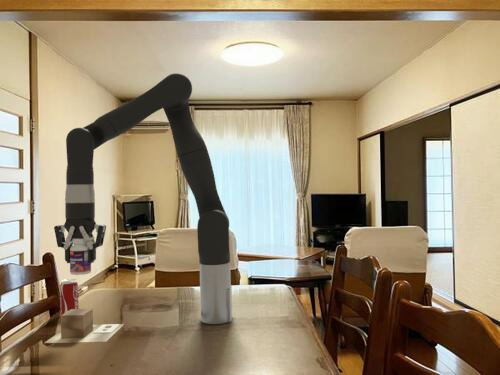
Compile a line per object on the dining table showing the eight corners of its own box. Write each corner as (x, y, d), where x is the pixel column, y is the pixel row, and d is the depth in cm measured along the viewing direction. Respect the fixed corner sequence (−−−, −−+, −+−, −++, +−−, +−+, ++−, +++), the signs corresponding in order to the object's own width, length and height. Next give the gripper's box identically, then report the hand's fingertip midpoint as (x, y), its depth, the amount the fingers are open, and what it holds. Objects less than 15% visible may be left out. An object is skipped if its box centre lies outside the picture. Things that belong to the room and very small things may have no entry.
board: (124, 328, 119) (124, 324, 119) (106, 346, 105) (106, 341, 105) (69, 329, 119) (69, 325, 119) (44, 347, 105) (43, 342, 105)
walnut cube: (93, 330, 114) (92, 308, 114) (83, 338, 108) (83, 315, 108) (71, 330, 114) (71, 309, 114) (61, 338, 108) (60, 315, 108)
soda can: (72, 321, 127) (71, 282, 127) (57, 320, 128) (56, 282, 128) (82, 316, 132) (81, 278, 133) (67, 315, 133) (66, 278, 134)
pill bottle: (65, 274, 112) (65, 238, 112) (78, 271, 117) (78, 236, 117) (82, 275, 110) (82, 239, 111) (95, 271, 116) (95, 237, 116)
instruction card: (120, 324, 118) (120, 323, 118) (111, 333, 111) (111, 331, 111) (102, 325, 119) (102, 324, 119) (92, 333, 112) (93, 332, 112)
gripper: (111, 200, 117) (111, 260, 117) (61, 201, 118) (61, 260, 118) (100, 201, 110) (100, 265, 110) (47, 201, 111) (47, 265, 110)
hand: (80, 262), depth 114 cm, fingers closed on pill bottle, 5 cm apart
